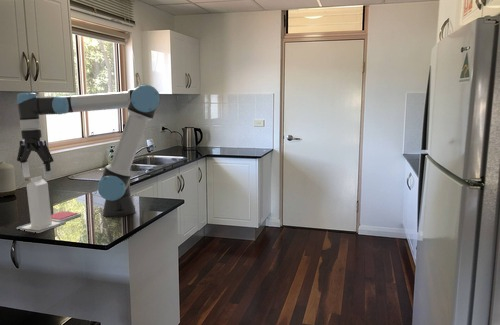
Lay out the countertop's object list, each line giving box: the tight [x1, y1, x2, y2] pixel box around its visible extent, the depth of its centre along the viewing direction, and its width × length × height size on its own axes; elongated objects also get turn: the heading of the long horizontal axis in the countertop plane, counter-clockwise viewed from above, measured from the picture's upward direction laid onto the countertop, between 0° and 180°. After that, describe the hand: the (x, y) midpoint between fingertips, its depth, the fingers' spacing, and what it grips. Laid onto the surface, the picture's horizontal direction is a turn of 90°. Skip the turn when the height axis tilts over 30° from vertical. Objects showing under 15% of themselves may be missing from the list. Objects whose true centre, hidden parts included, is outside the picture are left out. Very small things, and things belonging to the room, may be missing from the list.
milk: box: [26, 175, 52, 228], centre depth 181 cm, size 6×6×22 cm
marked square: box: [16, 220, 67, 234], centre depth 182 cm, size 14×14×1 cm
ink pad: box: [51, 210, 82, 222], centre depth 194 cm, size 12×12×2 cm
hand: (37, 177), depth 179 cm, fingers open, 13 cm apart
